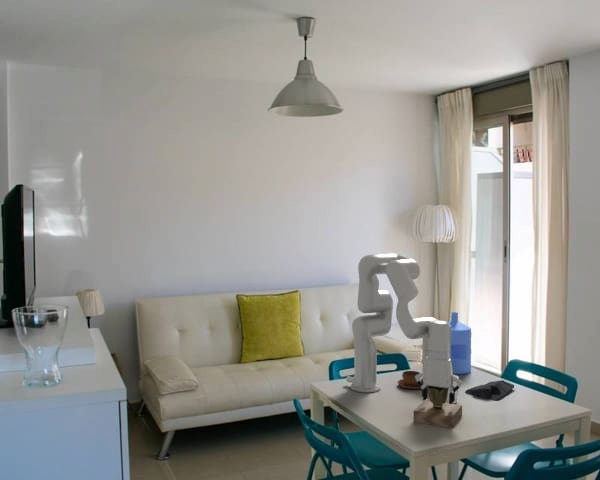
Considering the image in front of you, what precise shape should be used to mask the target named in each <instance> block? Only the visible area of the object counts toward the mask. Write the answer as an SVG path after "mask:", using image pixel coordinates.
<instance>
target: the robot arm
mask: <svg viewBox="0 0 600 480" xmlns="http://www.w3.org/2000/svg"><path fill="white" fill-rule="evenodd" d="M357 270H358V280H359V281H358V291H357V308H358V309H357V310H358V311H359V312H361V313H362V314H364V315H360V316H358V317H356V318H354V319H353V321H352V324H351V331H352V337H353V344H354V345H353V346H354V351H353V352H354V363H353V364H354V368H353V369H354V370H353V371H354V376H349V375H347V376H346V377H345V378H346V379H345V380H346V382H347V383H352V384H351V385H350V389H351V390H352V391H355V392H359V393H375V392H378V391H380V390H381V385H380V384H378V383H377V381H378V380H377V377H378V376H377V372H378V371H377V367H378V366H377V363H378V362H377V361H378V360H377V357H378V356H377V354H378V353H377V352H378V351H377V345H376V343H375V342H374V340H373V338H376V337H382V336H384V337H385V336H387V334H389V333H390V331H391V327H392V320H393V312H394V311H393V309H394V301H393V297H392V294H391V293H390V292H389V291H388V290H385V289H379V288H380V281H379V277H378V276H377V275H386V276H387V279H388V280H389V283H390V286H392V290H393V291H394V294H395V296H396V298H397V304H396V307H395V308H396V309H395V314H396V316H395V317H396V321H397V323H398V326H399V327H400V330H401V331H402V333H403V335H404V336H405V337H406V338H408V339H409V340H418V339H423V338H427V337H428V350H424V354H427V357H426V359H425V364H424V372H423V373H422V372H419V373H420V374H418V375H416V376H415V379H416V381H417V383H418V384H419V386H420V387H421V388H420V389H421V397H422V400H423V401H424V400H428V399H429V395H428V387H427V386H433V387H440V388H448V389H449V391H450V393H449V404H452V403H453V402H454V401H455V392H456V391H457V390H458V391H459V389H460V387H461V386H462V384H464V383H463V381H462V380H461V379H460V378H459V379H458V378H456V377H455V376H453V375H454V374H453V371H452V363H451V359H449V324H448V322H447V321H446V320H439V319H436V318H435V317H432V316H424V317H415V318H413V317H412V315H411V312H410V310H409V303H410V302H411V301H413V300H414V299H415V298H417V296H418V295H419V289H418V287H417V285H416V283H415V281H414V280H416V279H418V278H419V277H420V274H421V269H420V265H419V263H418V262H417V261H416V260H415V259H413V258H410V257H407V256H404V255H401V254H397V253H375V254H374V253H371V254H367V255H364V256H363V257H362V258H361V259H359V262H358V265H357ZM374 313H375V314H374ZM365 314H367V315H365ZM422 377H423V378H422ZM421 378H422V380H421ZM422 381H423V382H422ZM453 381H455V382H456V383H457V386H456V387H455V388H454V386H453V385H452V384H453Z"/></svg>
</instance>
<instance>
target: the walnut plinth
mask: <svg viewBox="0 0 600 480" xmlns="http://www.w3.org/2000/svg"><path fill="white" fill-rule="evenodd" d="M462 417H463V404H462V405H461V404H457V403H454V404H449V403H444V404H443V407H442V408H441V409H436V408H434V407H433V403H432V402H431V401H430V400H428V399H426V400H423V401H422V402H421V403H420V404H419V405H418V406H417V407H416V408H414V410H413V422H415V423H420V424H426V425H432V426H439V427H446V428H449V429H453V428H454V427H455V426H456V424H457V423H458V422H459V421H460V419H461V418H462Z"/></svg>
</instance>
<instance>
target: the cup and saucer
mask: <svg viewBox="0 0 600 480" xmlns="http://www.w3.org/2000/svg"><path fill="white" fill-rule="evenodd" d="M420 373H421V372H419V371H414V370H406V371H403V372H402V379H399V380H398V381H397V384H398V386H399V387H401V388H403V389H408V390H409V389H411V390H416V389H417V390H418V389H419V390H420V389H421V387H420V386H419V384H418V383H417V381H416V379H415V376H416V375H418V374H420ZM421 381H422V382H423V380H421Z"/></svg>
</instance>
